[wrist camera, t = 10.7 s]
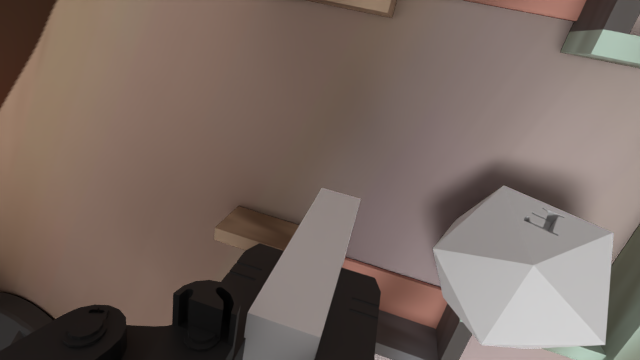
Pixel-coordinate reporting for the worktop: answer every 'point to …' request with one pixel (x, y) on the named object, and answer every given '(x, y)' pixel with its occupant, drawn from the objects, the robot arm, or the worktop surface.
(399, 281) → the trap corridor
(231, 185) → the worktop surface
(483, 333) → the die
